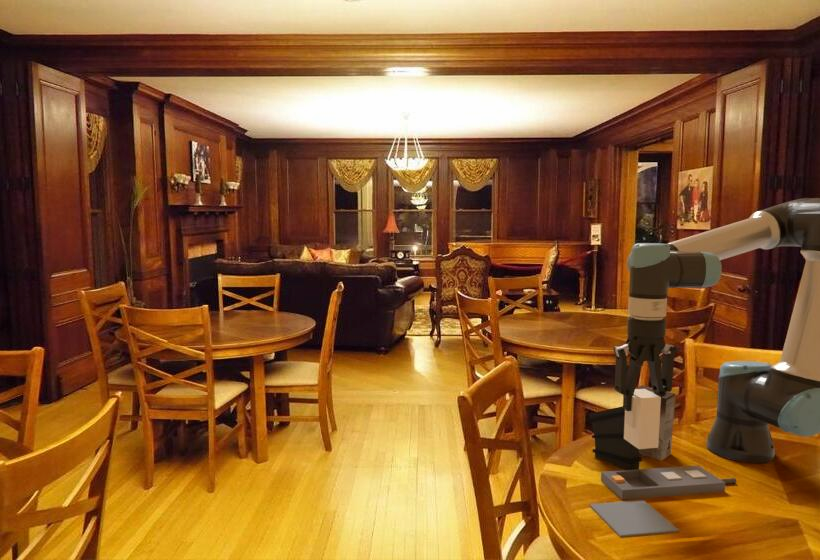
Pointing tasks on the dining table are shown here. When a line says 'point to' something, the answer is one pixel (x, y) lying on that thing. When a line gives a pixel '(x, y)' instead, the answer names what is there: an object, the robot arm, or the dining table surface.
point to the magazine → (613, 439)
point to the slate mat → (633, 518)
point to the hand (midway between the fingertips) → (641, 424)
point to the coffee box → (662, 427)
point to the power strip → (663, 482)
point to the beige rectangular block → (644, 421)
